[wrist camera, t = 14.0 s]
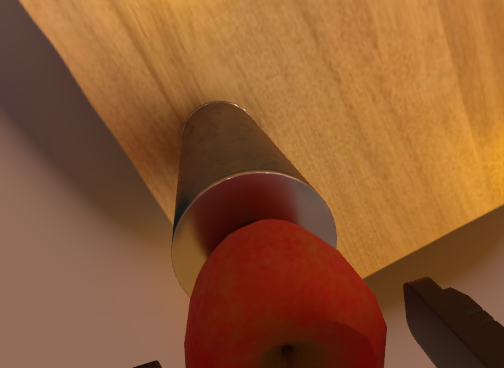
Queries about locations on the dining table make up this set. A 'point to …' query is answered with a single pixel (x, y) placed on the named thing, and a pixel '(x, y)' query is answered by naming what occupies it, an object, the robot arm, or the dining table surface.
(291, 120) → the dining table surface
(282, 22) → the dining table surface
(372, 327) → the apple
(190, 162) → the tin can
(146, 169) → the dining table surface
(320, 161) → the dining table surface
